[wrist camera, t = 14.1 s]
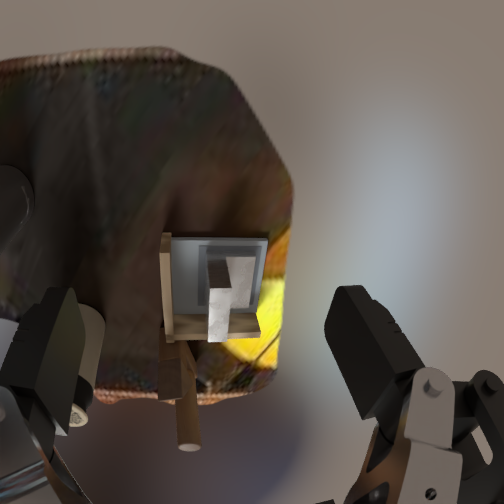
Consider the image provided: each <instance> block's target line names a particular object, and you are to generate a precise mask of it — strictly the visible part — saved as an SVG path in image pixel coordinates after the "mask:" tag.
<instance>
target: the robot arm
mask: <svg viewBox="0 0 504 504" xmlns="http://www.w3.org/2000/svg"><path fill="white" fill-rule="evenodd" d="M33 209H34V194H33V190H32V187H31V184H30V182H29V181H28V179H27V177H26V176H25V175H24V174H23V173H22V172H21V171H20V170H18V169H17V168H15V167H13V166H9V165H2V166H0V255H1V253H2V252H3V251H4V249H5V248H6V247H7V246H8V244H9V243H10V242H11V240H12V239H13V238H14V237H15V235H16V234H17V233H18V232H19V231H20V229H21V228H22V227H23V226H24V224H25V223H26V222H27V221H28V220H29V218H30V217H31V215H32V212H33ZM17 329H18V331H16V332H15V335H14V337H13V342H11V344H10V347H9V349H8V352H7V354H6V357H5V359H4V362H3V365H2V367H1V370H0V504H92V503H91V502H90V500H89V499H88V498H87V497H86V495H85V494H84V492H83V491H82V490H81V488H80V487H79V485H78V484H77V482H76V481H75V479H74V478H73V476H72V474H71V473H70V471H69V470H68V468H67V466H66V465H65V463H64V461H63V460H62V458H61V457H60V455H59V453H58V451H57V449H56V448H55V446H54V438H55V434H58V435H64V436H68V430H69V423H70V417H71V411H72V405H73V399H74V394H75V388H76V383H77V378H78V374H79V369H80V364H81V360H82V355H83V351H84V347H85V341H86V333H85V326H84V322H83V319H82V316H81V312H80V309H79V305H78V302H77V298H76V294H75V291H74V289H73V288H66V287H49V288H48V289H47V290H46V292H45V295H44V297H43V299H42V301H41V303H40V304H36V303H34V304H33V305H32V307H31V308H30V309H29V310H28V311H27V312H26V313H25V314H24V315H23V317H22V319H21V321H20V323H19V326H18V328H17ZM324 332H325V337H326V340H327V343H328V345H329V347H330V349H331V351H332V354H333V355H334V358H335V360H336V362H337V365H338V366H339V369H340V371H341V373H342V376H343V378H344V380H345V382H346V384H347V386H348V389H349V391H350V393H351V396H352V398H353V400H354V403H355V405H356V407H357V409H358V412H359V414H360V416H361V419H362V420H365V419H369V418H372V417H376V419H377V421H378V423H377V424H376V426H375V428H374V431H373V434H372V437H371V441H370V444H369V447H368V450H367V454H366V457H365V460H364V463H363V466H362V469H361V472H360V474H359V476H358V478H357V480H356V482H355V483H354V485H353V486H352V487H351V489H350V490H349V492H348V494H347V496H346V498H345V500H344V503H343V504H504V384H503V382H502V381H501V380H500V378H499V377H498V376H497V375H495V374H494V373H492V372H490V371H487V370H481V371H478V372H477V373H476V374H475V375H474V377H473V378H472V379H471V380H470V381H469V382H460V381H451V379H450V378H449V377H448V376H447V375H446V374H445V373H444V372H442V371H440V370H438V369H436V368H432V367H425V365H424V364H423V362H422V361H421V359H420V357H419V356H418V354H417V353H416V351H415V350H414V348H413V347H412V345H411V344H410V342H409V340H408V339H407V338H406V336H405V334H404V333H402V330H401V329H400V327H399V325H398V324H397V323H395V320H394V318H393V317H392V315H391V314H390V312H389V311H388V310H387V309H386V308H385V307H384V306H383V305H381V304H380V303H379V302H378V301H376V300H372V299H371V297H370V295H369V294H368V292H367V291H366V289H365V288H364V287H363V286H361V285H353V286H339V287H338V288H337V289H336V291H335V294H334V297H333V300H332V303H331V306H330V309H329V312H328V315H327V318H326V321H325V325H324ZM478 426H480V428H481V429H482V431H483V433H484V435H485V437H486V439H487V441H488V443H489V446H490V448H491V450H492V452H493V459H492V462H491V463H490V465H488V464H486V463H485V461H484V459H483V457H482V455H481V452H480V450H479V448H478V446H477V444H476V442H475V440H474V438H473V436H472V434H471V432H472V431H474V430H475V429H476V428H477V427H478ZM316 504H335V503H334V500H333V499H332V500H328V501H324V502H321V503H316Z"/></svg>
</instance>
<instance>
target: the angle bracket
mask: <svg viewBox="0 0 504 504" xmlns="http://www.w3.org/2000/svg"><path fill="white" fill-rule="evenodd" d="M255 260H256V256H255V253H254V251H206V259H205V286H204V307H205V318H206V328H207V337H208V342H226V341H227V336H228V325H229V314H230V309H231V308H249V302H250V295H251V288H252V281H253V274H254V267H255Z"/></svg>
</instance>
